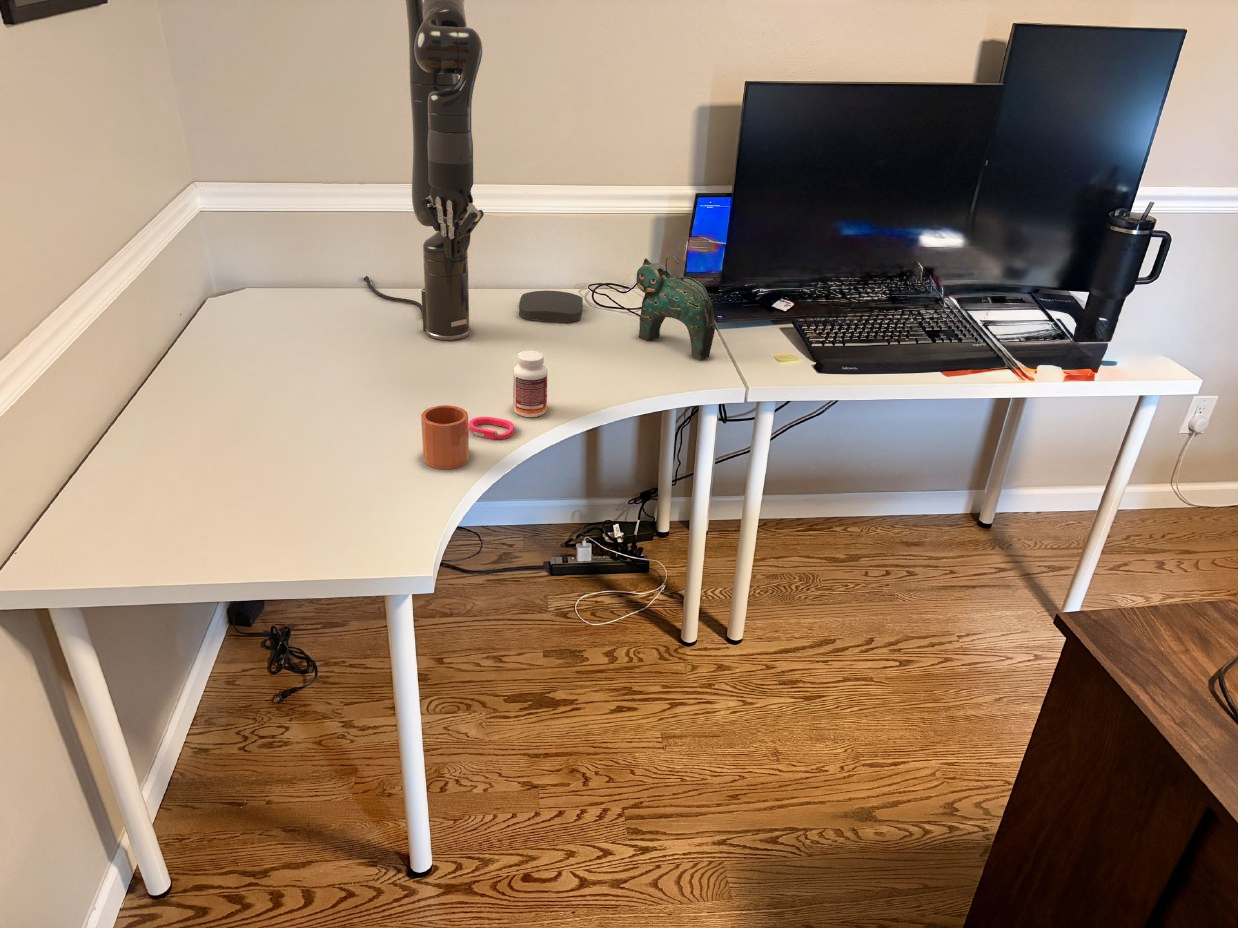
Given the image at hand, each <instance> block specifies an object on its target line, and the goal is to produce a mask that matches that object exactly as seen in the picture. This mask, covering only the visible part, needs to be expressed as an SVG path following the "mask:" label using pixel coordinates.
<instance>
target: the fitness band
mask: <svg viewBox="0 0 1238 928" xmlns="http://www.w3.org/2000/svg"><path fill="white" fill-rule="evenodd" d="M476 425H477V426H476ZM478 425H492V426H497V427H503V428H507V429H508V430H507V431H506V432H503V433H499V432H498V431H497V430H494V429H488V428H483V427H478ZM468 429H469V430H471V431H473V436H475V437H480V438H484V439H489V440H505V439H508V438H510V437H512V436H513V435H514V433H515V424H514V423H513V422H512V421H510V420H508V419H504V418H499V417H493V416H478V417H473V418H472V419H471V420H470V421H468Z"/></svg>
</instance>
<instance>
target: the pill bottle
mask: <svg viewBox="0 0 1238 928" xmlns="http://www.w3.org/2000/svg"><path fill="white" fill-rule="evenodd" d="M516 359H517V360H516V362H517V364H516V365H515V366H514V368H513V370H512V371H513V375H512V376H513V377H512V378H513V380H512V381H513V382H512V383H513V387H512V389H513V391H512V393H513V394H512V395H513V396H512V397H513V398H512V399H513V400H512V403H513V407H512V408H513V411H514V413H516V414H517V415H518V416H521V417H526V418H536V417H540V416H542V415H544V414H546V412H547V410H548V369H547V366H546V365H544V362H545V359H544V354H543V353H542V352H540V351H537V350H523V351H520V352H519V353H518V354H517V357H516Z"/></svg>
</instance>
